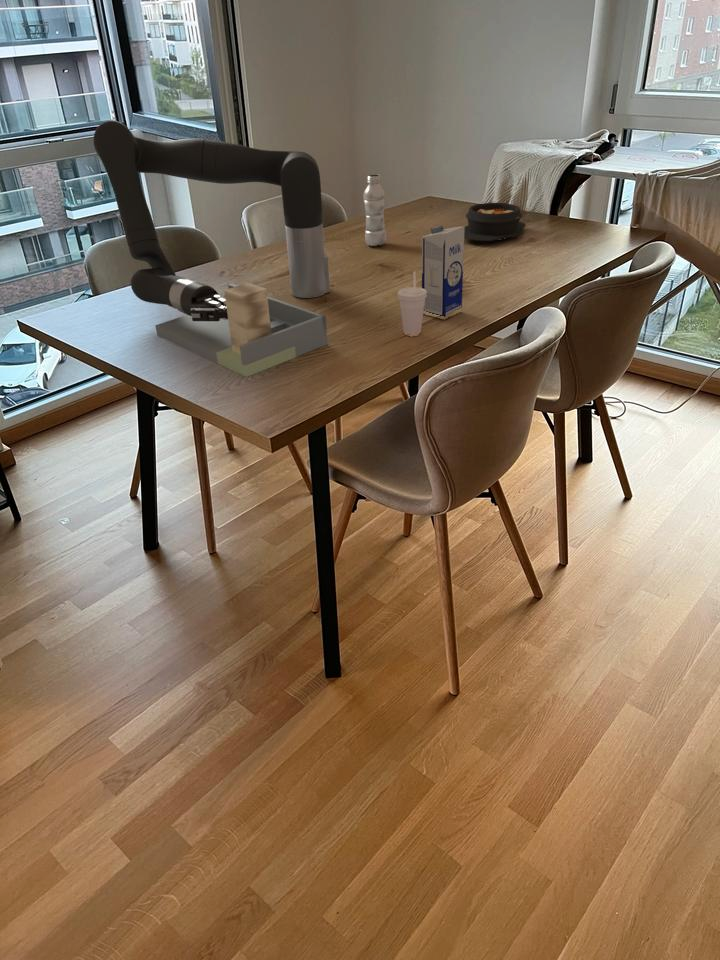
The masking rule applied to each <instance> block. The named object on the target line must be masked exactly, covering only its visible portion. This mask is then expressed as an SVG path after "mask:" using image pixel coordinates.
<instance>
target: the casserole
mask: <svg viewBox="0 0 720 960" xmlns="http://www.w3.org/2000/svg"><path fill="white" fill-rule="evenodd" d="M522 217H523V213H521V209H520V207H519V206H517V205H516V204H512V203H507V202H506V203H505V202H483V203H478V204H474V205H472V206H469V209H468V211H467V213H466V214H465V218H466V219H467V225H466V226H465V227H464V240H465V239H466V240H469V241H476V242H495V241H494V240H498V239H504V238H509V239H511V238H514V237H517V236H519V235H521V234H523V233H524V231H525V227H526V225H527V224H526V223H524V222H523V221H520V220H521V219H522ZM510 237H511V238H510Z"/></svg>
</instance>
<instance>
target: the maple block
mask: <svg viewBox="0 0 720 960" xmlns="http://www.w3.org/2000/svg"><path fill="white" fill-rule="evenodd" d="M223 291H224V296H225V300H226V307H227V314H228V321H229V328H230V336H231V343H232V350H233V351H234V352H236V353H238V354H240V355H241V352H240V345H243V344H245V343H248V342H251V341H253V340H256V339H259V338H261V337H264V336H267V335H270V334H271V325H270V316H269V307H268V298H267V296H268V292H267V291H268V290H267V288H266V287H262V286H259V285H257V284H254V283H250V282H246V283H243V284H240V285H239V284H238V285H237V286H236V287H233V288H230V289H229V288H226V289H224V290H223Z"/></svg>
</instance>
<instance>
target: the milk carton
mask: <svg viewBox="0 0 720 960" xmlns="http://www.w3.org/2000/svg"><path fill="white" fill-rule="evenodd" d="M464 227H465V226H454V227H450V228H444V226H443V225H437V226H435V227H432V228H430V233H429V234H426V235H423V236H422V237H421V288H423V289H425V290H426V291H427V297H426V298H425V304H424V311H426V312H429V313H432V314H436V315H440V316H444V317H445V316H447V315H449V314H451V313H452V312H454V311H456V310H459V309H461V308H462V309H463V284H464V283H463V282H464V255H465V254H464V253H465V252H464V249H465V238H464Z"/></svg>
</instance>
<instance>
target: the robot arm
mask: <svg viewBox="0 0 720 960" xmlns="http://www.w3.org/2000/svg"><path fill="white" fill-rule="evenodd" d="M93 146H94V150H95V152H96V154H97V156H98V157H99V159H100V160H101V162H102V165H103V167H104V169H105V171H106V174H107V176H108V179H109V183H110V184H111V187H112V190H113V194H114V197H115V201H116V204H117V208H118V212H119V216H120V222H121V224H122V228H123V233H124V236H125V239H126V242H127V246H128V251H129V253H130V256H131V258H132V259H134V260H136V261H142V262H145V263H147V264H148V265H149V266H150V268H142V269H139V270H136V271H135V272H134V273H133V274H132V276H131V279H130V287H131V290H132V292H133V294H134V295H135V296H136V297H137V299H139V300H141V301H143V302H146V303H149V304H156V305H166V306H168V307H171V308H173V309H175V310H177V311H179V312H180V313H183V314H185V315H189V316H192V321H216V322H217V321H220V319H223V320H227V319H228V314H227V307H226V300H225V295H220V294H219V293H218V291H216V288H214V287H212V286H210V285H208V284H204V283H201V282H199V281H196V280H193V279H188V278H184V277H181V276H178V275H176V272H175V270H174V268H173V266H172V265H171V264H170V262H169V260H168V258H167V256H166V255H165V253H164V251H163V249H162V246H161V245H160V242H159V238H158V233H157V231H156V226H155V223H154V219H153V217H152V214H151V212H150V211H151V210H150V208H149V206H148V204H147V200H146V198H145V195H144V192H143V189H142V185H141V183H140V178H139V175H138V174H158V175H159V174H160V175H165V176H170V177H175V178H179V179H187V180H191V181H192V180H194V181H197V182H198V181H200V182H206V183H213V184H222V185H229V184H230V185H231V184H243V183H244V184H246V183H263V184H269V185H275V186H280V188H281V189H280V190H281V197H282V199H281V200H282V209H283V217H284V226H285V228H284V229H285V238H286V239H285V240H286V247H287V249H286V250H287V258H288V259H287V261H288V272H289V273H288V274H289V281H290V282H289V283H290V285H289V286H290V292H291V294H290V295H292V296H293V297H295V298H301V299H311V298H318V297H322V296H323V295H326V294H327V293H328V292H329V293H331V289H330V287H331V286H330V273H329V270H330V268H329V256H328V254H326V252H325V240H324V239H325V238H324V237H325V236H324V224H323V222H324V221H323V205H322V188H321V183H322V182H321V174H320V173H321V172H320V167H319V165H318V163H317V161H316V159H315V158H314V157H313V156H312V155H311V154H309V153H307V152H304V151H299V150H298V151H297V150H296V151H295V150H293V151H292V150H291V151H289V150H286V151H285V150H267V149H259V148H256V147H255V148H254V147H250V146H248V145H247V146H246V145H240V144H237V143H232V142H231V143H230V142H226V141H221V140H214V139H208V138H197V137H195V138H194V137H192V138H191V137H190V138H183V139H174V140H169V141H168V140H167V141H164V140H163V141H161V140H153V139H148V138H144V137H140V136H135V135H134V134H133V132H132V130H130V129H129V127H127V126H126V125H125V124H124V123H123V122H120V121H118V120H114V119H113V120H112V119H110V120H105V121H103V122H102V123H100V124H99V125H98V126H97V127H96V129H95V131H94V133H93ZM325 293H326V294H325Z"/></svg>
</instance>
